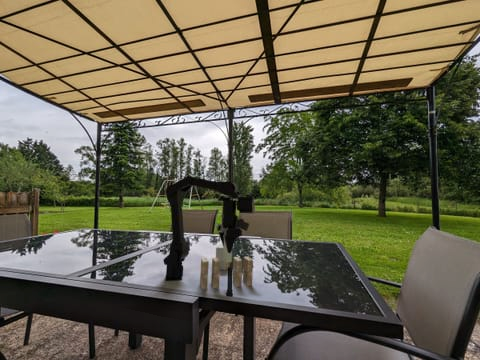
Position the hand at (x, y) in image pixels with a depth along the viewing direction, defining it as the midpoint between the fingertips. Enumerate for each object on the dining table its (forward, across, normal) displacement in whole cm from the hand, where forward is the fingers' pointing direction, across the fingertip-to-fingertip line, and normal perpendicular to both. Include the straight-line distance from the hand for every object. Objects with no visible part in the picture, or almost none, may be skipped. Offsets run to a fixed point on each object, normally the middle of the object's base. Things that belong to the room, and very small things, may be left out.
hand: (227, 251), depth 93 cm
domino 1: (+13, 0, +9) cm, 16 cm away
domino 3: (+4, 0, 0) cm, 4 cm away
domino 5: (+13, 0, -9) cm, 16 cm away
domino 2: (+13, 0, +4) cm, 14 cm away
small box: (+13, +24, -4) cm, 28 cm away
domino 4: (+13, 0, -4) cm, 14 cm away
